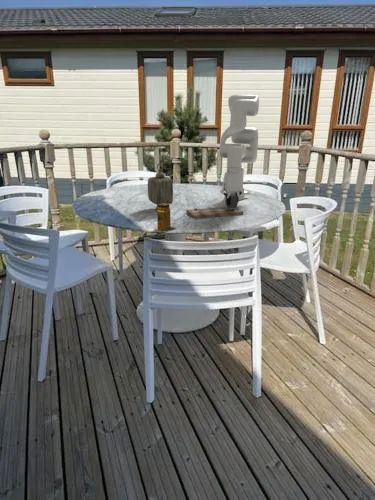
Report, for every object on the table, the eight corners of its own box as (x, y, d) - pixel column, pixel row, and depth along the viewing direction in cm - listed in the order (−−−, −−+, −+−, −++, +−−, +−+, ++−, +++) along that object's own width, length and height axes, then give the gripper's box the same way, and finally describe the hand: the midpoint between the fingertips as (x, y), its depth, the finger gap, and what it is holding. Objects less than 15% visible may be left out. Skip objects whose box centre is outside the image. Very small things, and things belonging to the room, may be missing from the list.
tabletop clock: (173, 211, 194) (173, 165, 185) (157, 213, 190) (156, 166, 181) (162, 205, 206) (161, 161, 197) (147, 207, 202) (146, 162, 193)
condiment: (153, 229, 165) (153, 204, 161) (166, 225, 171) (165, 200, 167) (165, 232, 161) (164, 206, 157) (177, 228, 167) (177, 203, 163)
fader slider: (233, 206, 197) (234, 193, 194) (238, 209, 192) (239, 196, 189) (225, 207, 196) (225, 194, 193) (229, 210, 190) (230, 196, 188)
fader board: (233, 208, 201) (233, 204, 200) (243, 214, 190) (243, 210, 190) (186, 212, 193) (186, 208, 192) (193, 218, 182) (193, 214, 181)
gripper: (245, 168, 192) (242, 201, 199) (216, 169, 187) (214, 203, 194) (251, 170, 185) (248, 205, 192) (221, 172, 180) (220, 207, 187)
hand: (231, 204), depth 193 cm, fingers closed on fader slider, 4 cm apart
